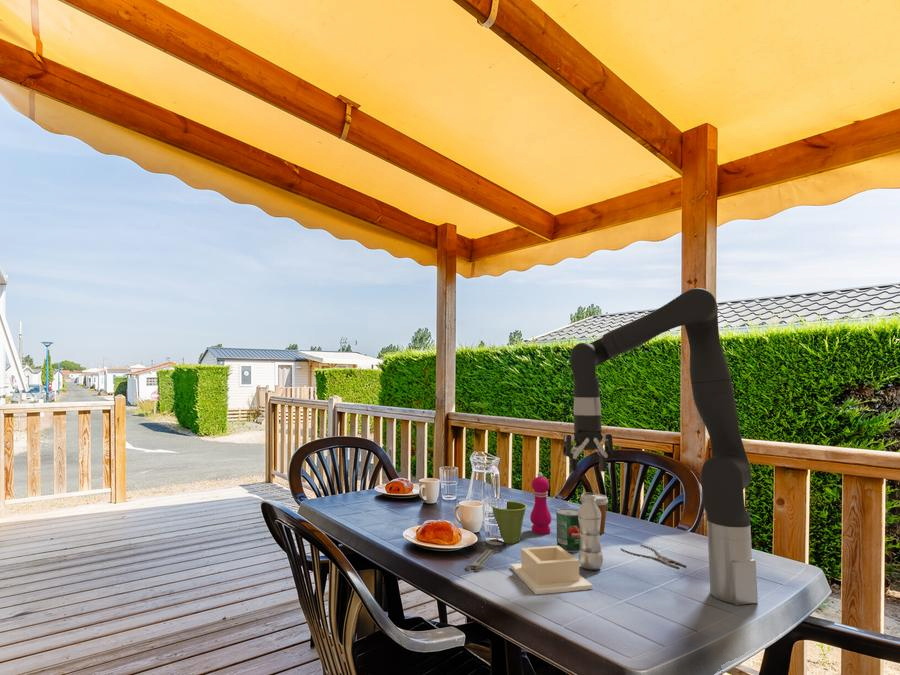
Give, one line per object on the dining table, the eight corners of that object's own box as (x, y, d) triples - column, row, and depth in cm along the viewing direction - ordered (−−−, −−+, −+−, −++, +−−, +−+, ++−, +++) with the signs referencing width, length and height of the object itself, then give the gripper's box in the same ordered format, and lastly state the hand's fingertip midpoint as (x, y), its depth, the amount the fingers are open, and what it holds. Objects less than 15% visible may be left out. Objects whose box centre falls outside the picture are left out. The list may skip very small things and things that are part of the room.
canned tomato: (560, 542, 159) (559, 507, 160) (585, 546, 156) (584, 510, 157) (554, 550, 152) (553, 513, 153) (580, 553, 149) (579, 516, 150)
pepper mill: (553, 535, 167) (552, 474, 169) (532, 534, 167) (531, 474, 169) (549, 528, 175) (548, 470, 176) (529, 528, 175) (528, 470, 177)
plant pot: (502, 548, 153) (501, 511, 155) (484, 537, 164) (484, 502, 165) (534, 543, 158) (534, 507, 159) (515, 533, 169) (514, 499, 170)
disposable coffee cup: (578, 527, 176) (578, 492, 177) (606, 528, 175) (605, 493, 176) (582, 535, 167) (581, 498, 168) (611, 536, 166) (610, 499, 167)
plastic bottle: (607, 567, 137) (605, 493, 139) (595, 574, 132) (593, 497, 134) (586, 562, 142) (584, 490, 144) (574, 568, 137) (572, 494, 139)
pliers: (636, 542, 158) (698, 560, 142) (636, 545, 158) (699, 563, 142) (617, 548, 152) (680, 568, 136) (617, 551, 152) (680, 571, 136)
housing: (592, 589, 123) (591, 563, 124) (535, 594, 120) (535, 568, 120) (561, 563, 140) (560, 541, 141) (510, 567, 137) (510, 545, 138)
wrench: (463, 571, 135) (463, 567, 136) (485, 549, 154) (485, 545, 154) (480, 573, 134) (480, 569, 134) (500, 550, 152) (500, 547, 152)
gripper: (569, 414, 136) (571, 475, 134) (617, 413, 139) (618, 473, 137) (558, 412, 143) (559, 470, 142) (603, 412, 146) (605, 468, 145)
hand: (588, 471), depth 140 cm, fingers open, 8 cm apart
